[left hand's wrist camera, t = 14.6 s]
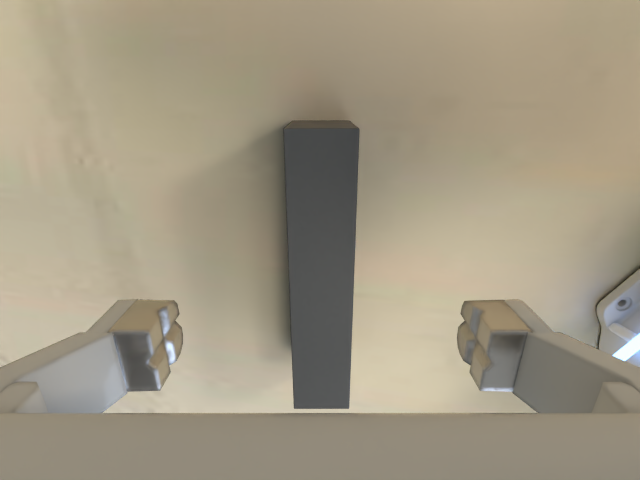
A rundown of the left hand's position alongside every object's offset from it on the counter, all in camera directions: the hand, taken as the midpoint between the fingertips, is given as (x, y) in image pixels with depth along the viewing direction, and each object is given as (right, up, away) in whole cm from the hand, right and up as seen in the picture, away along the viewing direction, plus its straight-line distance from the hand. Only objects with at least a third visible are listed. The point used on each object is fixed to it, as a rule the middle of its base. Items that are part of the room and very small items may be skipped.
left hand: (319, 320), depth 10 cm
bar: (0, +1, +27) cm, 27 cm away
